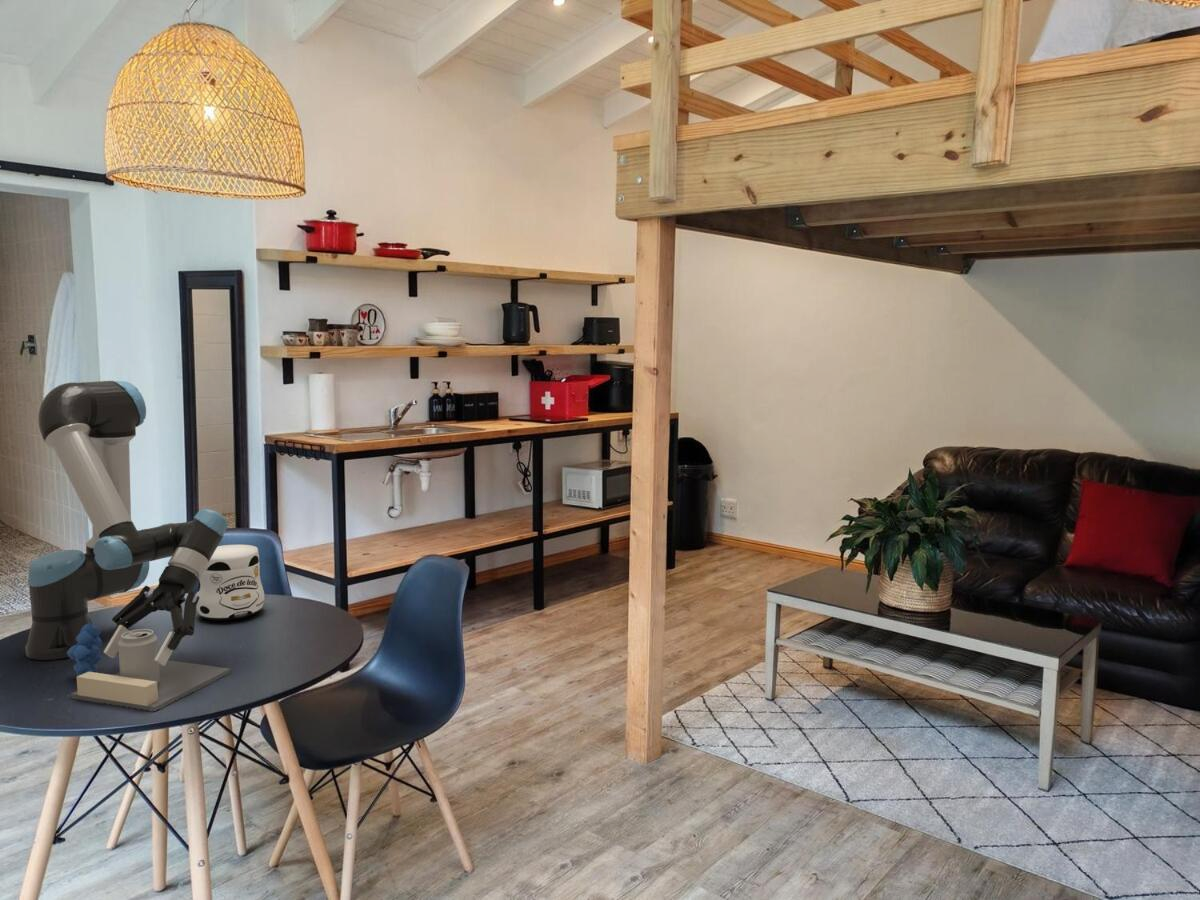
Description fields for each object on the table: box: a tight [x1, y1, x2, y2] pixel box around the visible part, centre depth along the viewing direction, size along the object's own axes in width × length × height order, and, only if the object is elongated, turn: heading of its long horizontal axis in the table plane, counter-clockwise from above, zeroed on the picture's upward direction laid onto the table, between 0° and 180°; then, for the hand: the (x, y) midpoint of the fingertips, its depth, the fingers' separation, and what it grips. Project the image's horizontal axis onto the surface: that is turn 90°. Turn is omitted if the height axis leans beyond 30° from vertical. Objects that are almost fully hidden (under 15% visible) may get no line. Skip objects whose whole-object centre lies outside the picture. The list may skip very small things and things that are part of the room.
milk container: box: [195, 544, 265, 621], centre depth 240 cm, size 17×17×18 cm
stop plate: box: [70, 659, 231, 712], centre depth 192 cm, size 22×22×5 cm
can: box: [118, 628, 160, 683], centre depth 188 cm, size 8×8×12 cm
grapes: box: [67, 623, 104, 676], centre depth 196 cm, size 12×7×12 cm, turn 12°
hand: (133, 659), depth 187 cm, fingers open, 13 cm apart
